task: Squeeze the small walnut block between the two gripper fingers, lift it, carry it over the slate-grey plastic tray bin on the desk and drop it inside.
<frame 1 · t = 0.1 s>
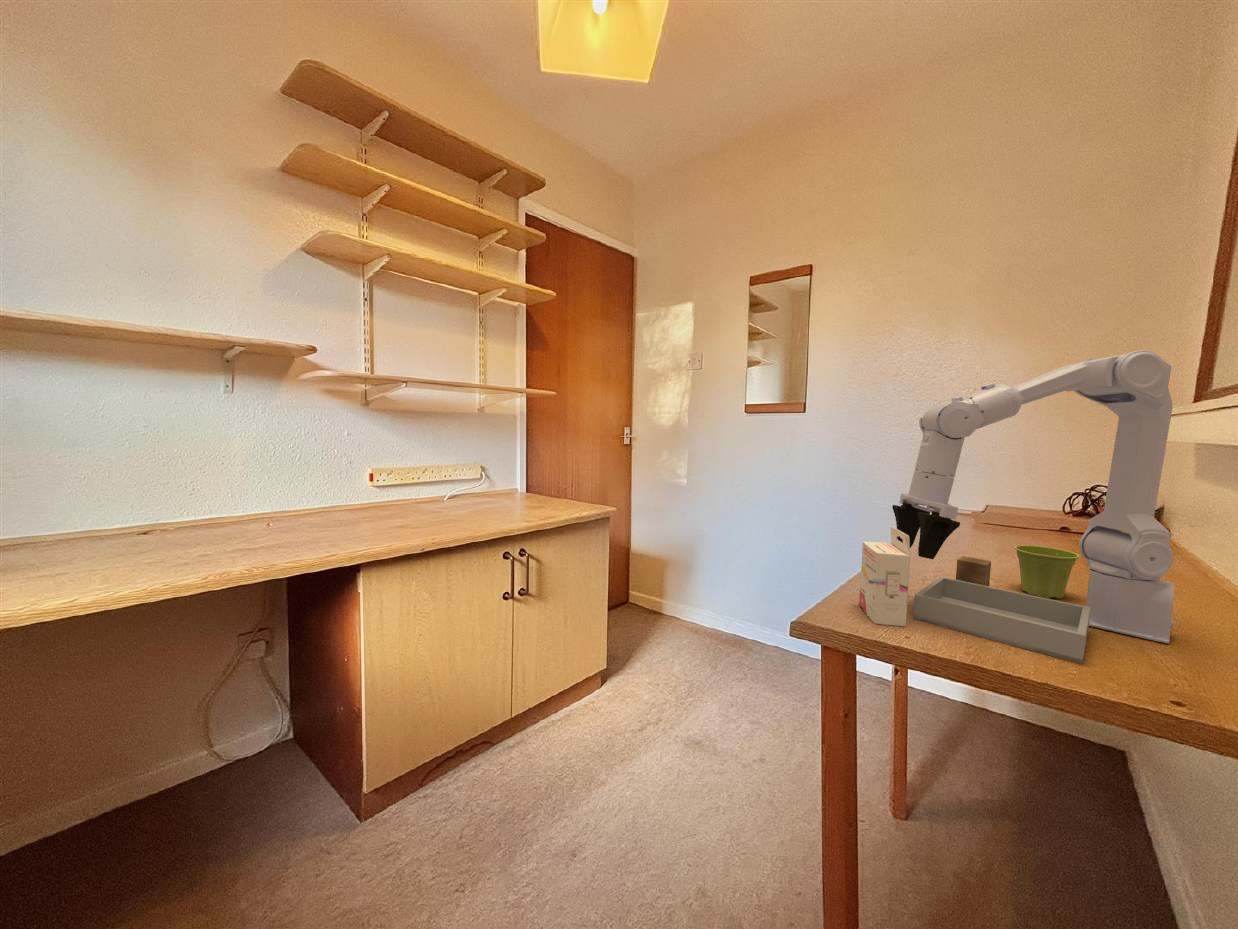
hand: (914, 551, 79), 11 cm above the table, tool pointing down, fingers open, 7 cm apart
plant pot: (1041, 595, 91), on the table
tray bin: (998, 625, 75), on the table
ink cartridge box: (880, 617, 78), on the table
walnut block: (971, 596, 89), on the table
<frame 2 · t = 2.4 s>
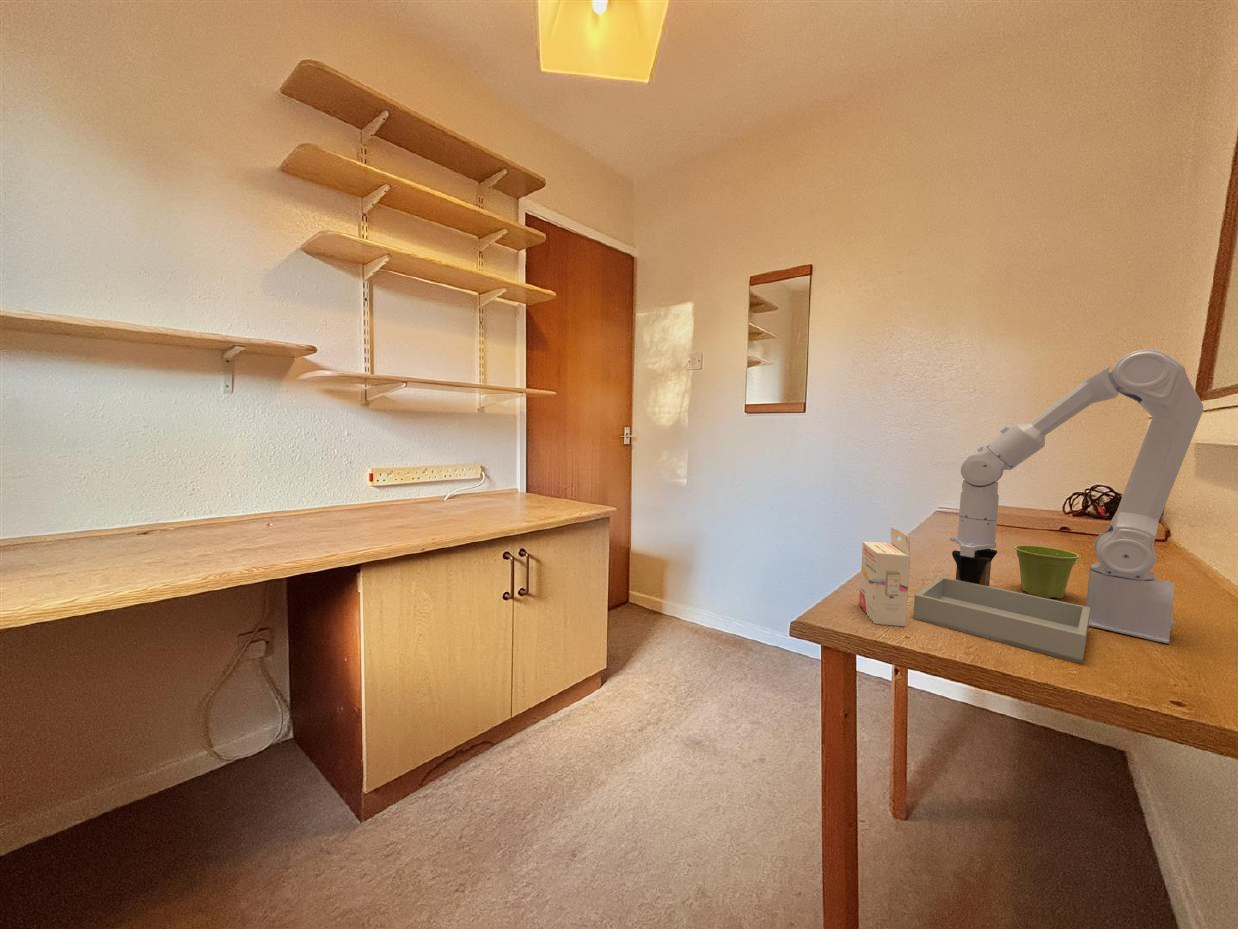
hand: (972, 587, 89), 2 cm above the table, tool pointing down, fingers closed on walnut block, 4 cm apart
walnut block: (971, 596, 89), on the table, touching gripper
everything else where it was.
when the fingers open (4 cm above the table, at t = 6.2 s): walnut block drops 1 cm, resting on tray bin.
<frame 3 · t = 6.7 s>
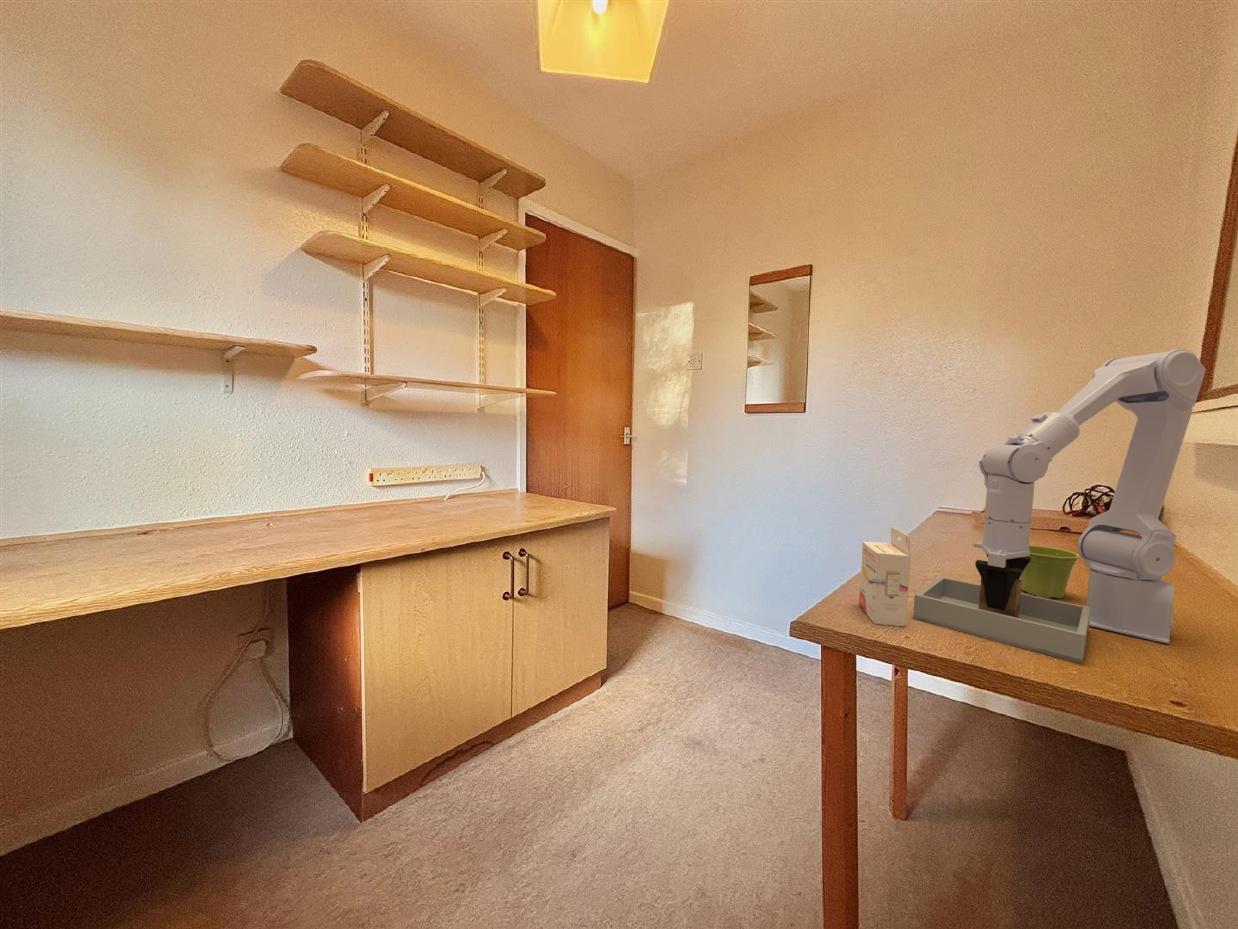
hand: (1000, 602, 75), 4 cm above the table, tool pointing down, fingers open, 7 cm apart
walnut block: (997, 621, 75), point 1 cm above the table, touching tray bin
everything else where it was.
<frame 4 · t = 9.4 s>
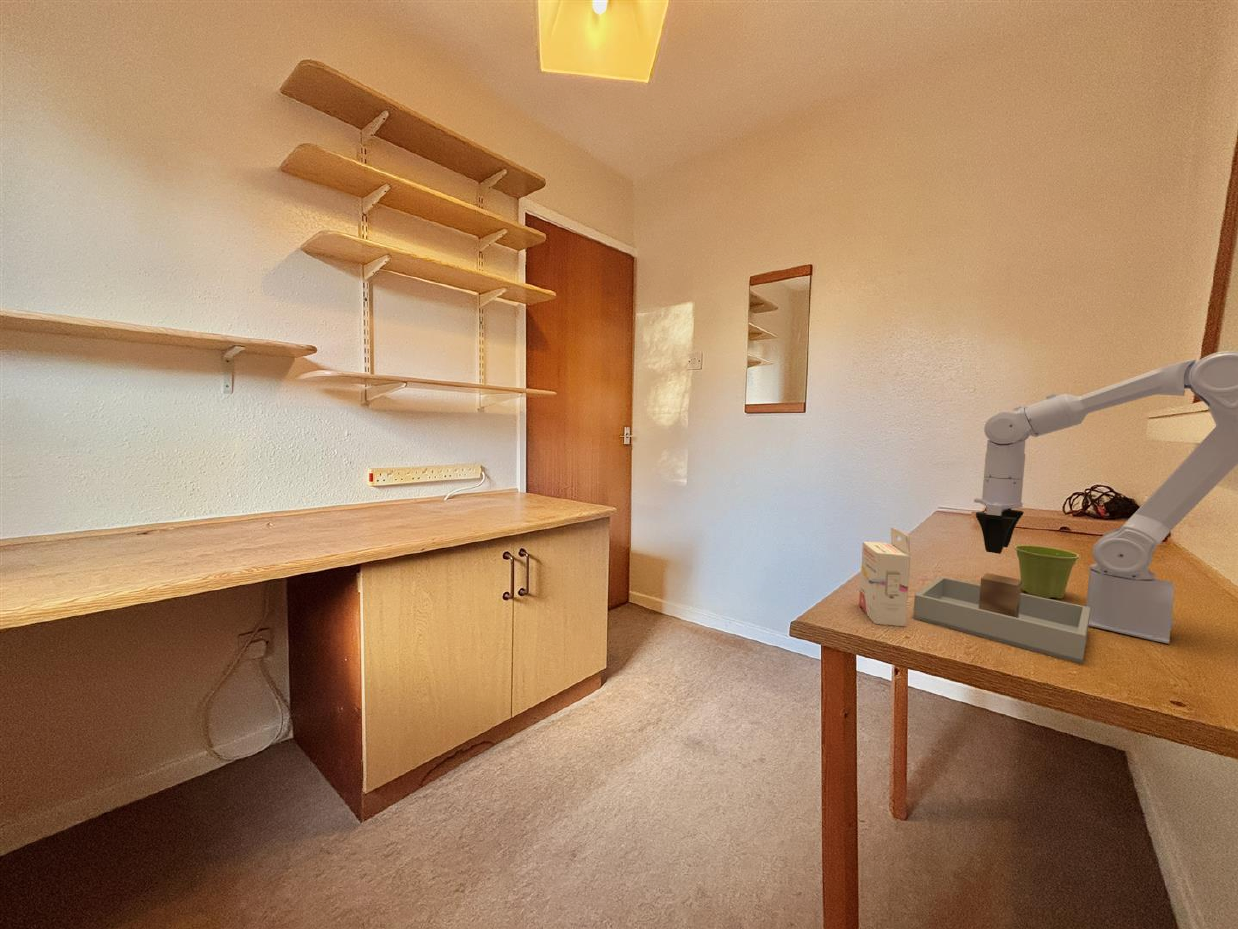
hand: (997, 549, 88), 9 cm above the table, tool pointing down, fingers open, 7 cm apart
nothing on the table moved.
at the end: walnut block inside the target area on the tray bin (0.1 cm from its centre), point 0.6 cm above the tray bin's base; the gripper is holding nothing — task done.
